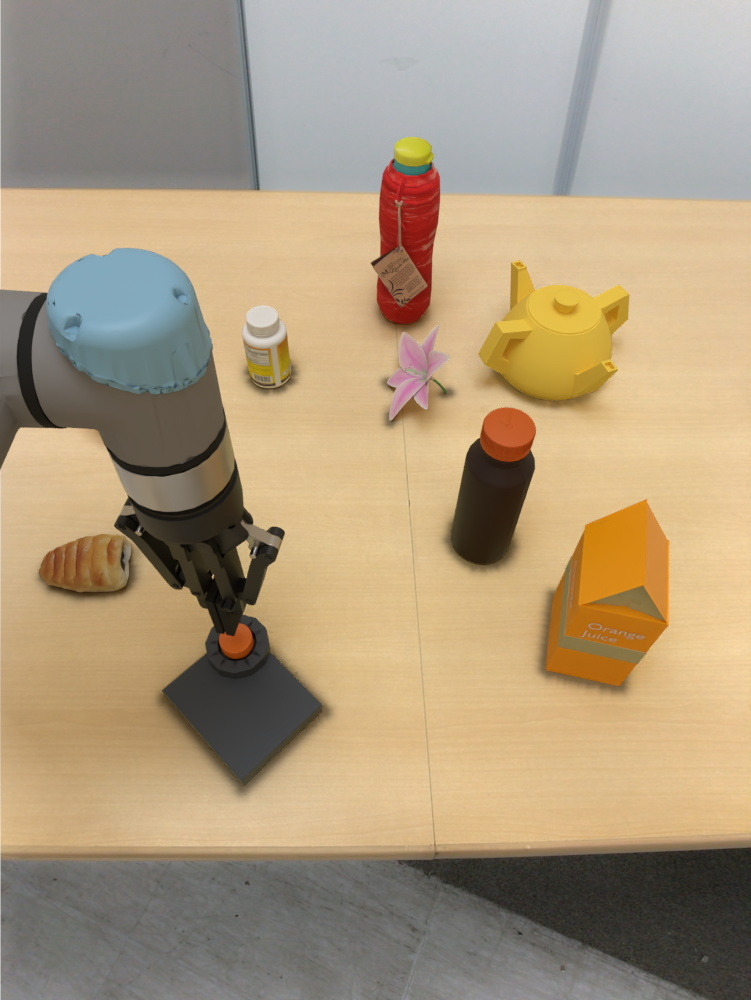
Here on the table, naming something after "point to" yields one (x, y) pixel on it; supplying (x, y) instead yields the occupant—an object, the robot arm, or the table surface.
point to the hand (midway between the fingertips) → (230, 621)
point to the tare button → (237, 642)
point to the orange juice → (611, 597)
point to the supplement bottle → (266, 347)
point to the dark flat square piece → (243, 703)
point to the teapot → (555, 338)
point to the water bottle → (407, 231)
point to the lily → (415, 371)
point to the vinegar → (494, 486)
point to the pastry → (88, 564)
